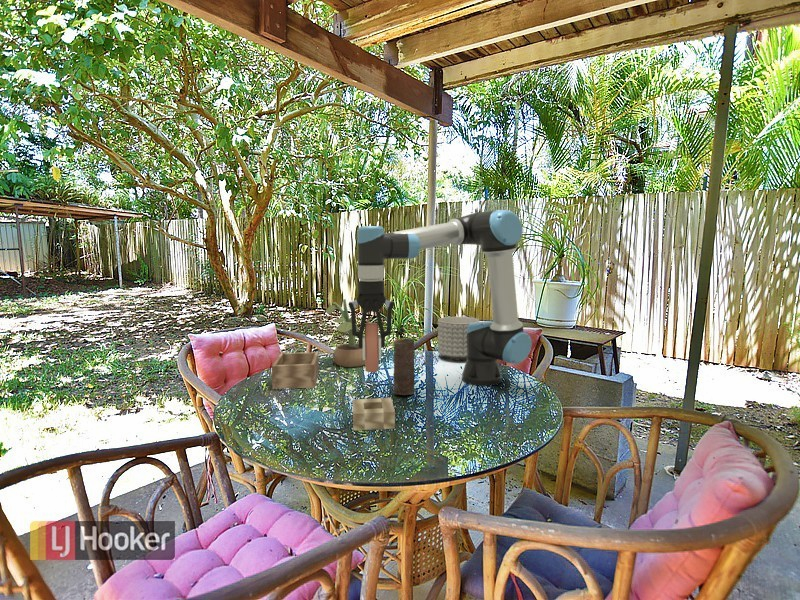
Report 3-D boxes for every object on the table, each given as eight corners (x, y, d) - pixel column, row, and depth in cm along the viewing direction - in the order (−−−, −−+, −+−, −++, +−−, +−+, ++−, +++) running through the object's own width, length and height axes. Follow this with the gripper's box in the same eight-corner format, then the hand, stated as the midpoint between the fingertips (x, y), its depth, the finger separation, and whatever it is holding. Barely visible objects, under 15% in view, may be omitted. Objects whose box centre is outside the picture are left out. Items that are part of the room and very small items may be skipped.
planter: (436, 362, 201) (436, 322, 199) (439, 352, 220) (439, 316, 218) (479, 364, 198) (479, 323, 196) (478, 353, 217) (479, 316, 215)
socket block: (391, 413, 141) (391, 397, 141) (394, 428, 129) (394, 411, 129) (353, 414, 140) (353, 399, 139) (353, 430, 128) (352, 413, 127)
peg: (378, 368, 135) (377, 322, 133) (379, 371, 131) (378, 324, 129) (365, 368, 134) (364, 322, 133) (365, 372, 130) (364, 325, 129)
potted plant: (340, 357, 212) (338, 294, 208) (376, 359, 207) (375, 295, 204) (319, 370, 191) (317, 300, 187) (358, 373, 186) (357, 301, 182)
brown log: (412, 398, 154) (412, 342, 152) (391, 397, 156) (391, 341, 153) (416, 391, 162) (415, 337, 159) (396, 390, 163) (395, 336, 161)
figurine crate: (318, 373, 186) (318, 352, 184) (314, 388, 166) (314, 364, 165) (281, 374, 184) (280, 353, 183) (272, 389, 165) (271, 366, 164)
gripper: (398, 278, 134) (399, 354, 137) (341, 279, 132) (343, 356, 135) (401, 280, 126) (401, 361, 129) (341, 281, 125) (342, 362, 128)
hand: (371, 358), depth 132 cm, fingers closed on peg, 4 cm apart
